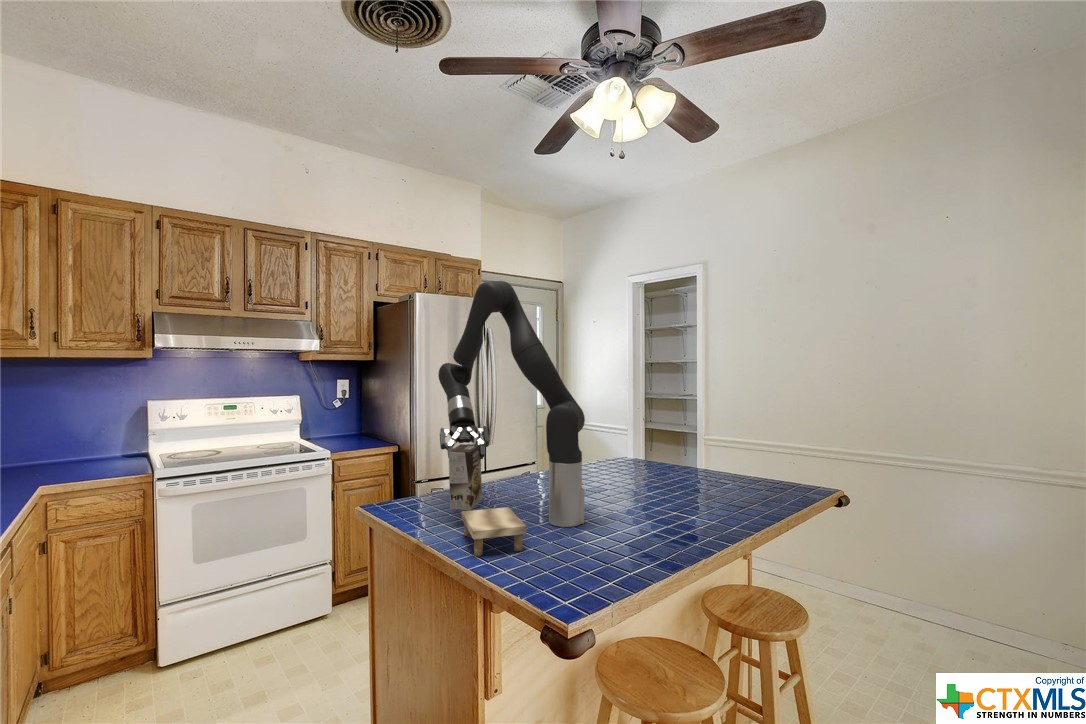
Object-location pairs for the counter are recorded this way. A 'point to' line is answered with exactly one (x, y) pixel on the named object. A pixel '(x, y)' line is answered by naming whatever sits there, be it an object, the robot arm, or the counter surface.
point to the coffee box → (465, 476)
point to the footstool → (493, 526)
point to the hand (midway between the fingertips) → (467, 458)
